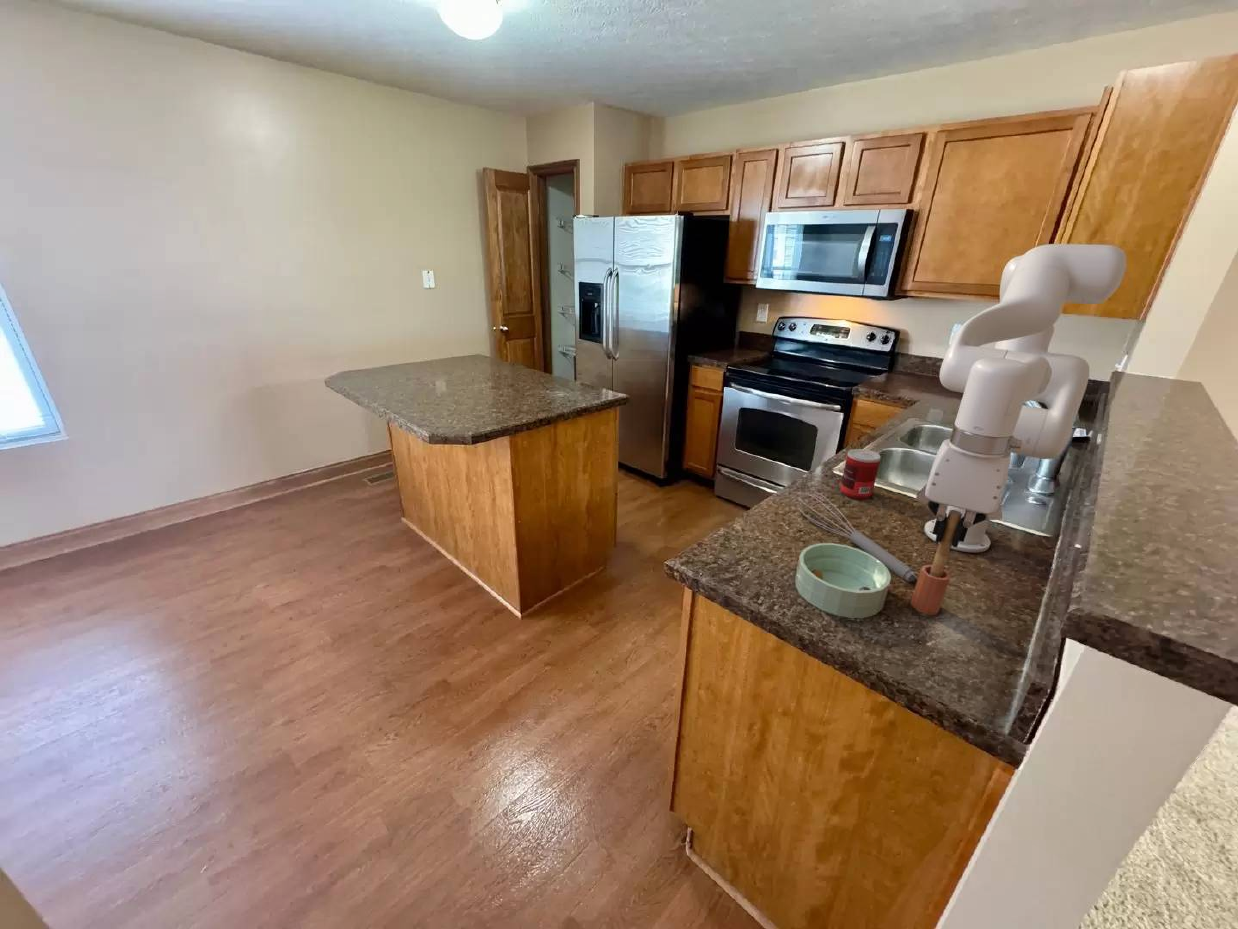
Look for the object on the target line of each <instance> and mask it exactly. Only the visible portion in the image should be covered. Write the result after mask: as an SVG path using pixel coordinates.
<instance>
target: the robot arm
mask: <svg viewBox="0 0 1238 929" xmlns="http://www.w3.org/2000/svg"><path fill="white" fill-rule="evenodd" d="M1126 268H1127V256H1126V253H1125V251H1124V250H1123V249H1122V248H1120V247H1119V246H1116V245H1113V244H1112V245H1111V244H1083V243H1082V244H1081V243H1049V244H1042V245H1037V246H1035V247H1032V248H1031V249H1029V250H1028V251H1026V252H1025V253H1024V254H1022V255H1021V254H1020V255H1017V256H1015V257H1013V258H1011V259H1010V260H1009V261H1008V262H1007V263H1006V265H1005V266H1004V269H1003V271H1002V274H1001V278H1000V285H999V303H997V304H995V305H993V306H990V307H989V308H986V309H984V310H983V311H981V312H979V313H977V314H976V315H974V316H972V317H971V318H970V319H967V321H966V322H964V323H963V324H962V325H961V326H960V327H959V328H958V329H957V331H956V332H955V334H954V336H953V338H952V341H951V342H950V344H949V346H948V349H947V351H946V353H945V356H944V358H943V359H942V362H941V365H940V370H939V381H940V383H941V385H942V386H943V387H944V388H945V389H947V390H949V391H951V392H957V393H963V394H962V397H961V400H960V404H959V407H958V410H957V414H956V417H955V421H954V424H953V428H952V431H951V435H950V438H948V439H944V440H943V441H942V443H941V445H940V447H939V449H938V450H937V453H936V455H935V458H934V460H933V463H932V466H931V468H930V471H929V474H928V477H927V480H926V483H925V484H924V485H923V487H922V488H921V489H920V490H919V491H918V492H917V494H916V496H915V499H916V501H918V502H919V503H921V504H922V505H924V506H926V507H928V508H929V510H930V511H931V513H932V514H933V515H934V516H935V519H932V520H929V521H927V522H926V523H925V525H924V527H923V530H924V533H925V534H926V536H927V537H929V539H930V540H932V541H933V542H935V543H937V544H939V542H941V539H942V536H943V533H944V530H945V527H946V523H947V517H948V514H949V511H950V510H956V511H959V512H961V513H962V516H961V519H960V522H959V524H958V527H957V530H956V533H955V536H954V539H953V542H952V546H951V549H950V550H954V551H958V552H963V553H974V554H975V553H983V552H985V551H987V550H988V549H989V548H990V546H991V539H990V538H989V536H988V535H987V534H986V532H987V528H988V525H989V523H990V521H1000V520H1002V519H1003V511H1002V505H1001V504H1002V503H1001V502H1002V498H1003V495H1004V493H1005V489H1006V485H1007V481H1008V477H1009V469H1010V465H1011V460H1012V454H1016V455H1021V456H1026V457H1028V458H1029V457H1030V458H1036V459H1041V460H1051V459H1055V458H1057V457H1058V456H1060V455H1061V454H1062V452H1063V451H1064V449H1065V448H1066V446H1067V443H1068V441H1069V438H1070V436H1071V433H1072V430H1073V426H1074V424H1075V421H1076V418H1077V416H1078V412H1079V409H1080V407H1081V404H1082V401H1083V398H1084V395H1085V392H1086V390H1087V386H1088V383H1089V378H1090V372H1091V371H1090V364H1089V363H1088V361H1087V360H1086V359H1084V358H1082V357H1080V356H1077V355H1072V354H1063V353H1055V352H1049V351H1048V350H1049V347H1050V344H1051V341H1052V338H1053V336H1054V333H1055V327H1054V326H1055V324H1056V323H1057V321H1058V320H1059V318H1060V316H1061V313H1062V310H1063V308H1064V305H1065V303H1066V304H1067V303H1070V304H1081V305H1083V304H1084V305H1097V304H1098V305H1099V304H1102V303H1104V302H1106V301H1107V300H1108V299H1110V298H1111V296H1112V295H1114V293H1115V292H1116V291H1117V289H1118V288H1119V286H1120V285H1121V283H1122V281H1123V278H1124V276H1125V272H1126ZM992 343H995V345H994V348H993V347H985V345H988V344H992ZM1030 401H1032V402H1037V403H1042V404H1044V405H1045V406H1046V408H1044V407H1043V408H1042V407H1036V406H1032V405H1026V404H1024V403H1027V402H1030Z"/></svg>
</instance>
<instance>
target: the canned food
mask: <svg viewBox="0 0 1238 929" xmlns="http://www.w3.org/2000/svg"><path fill="white" fill-rule="evenodd" d="M881 458H882V456H881V455H880V454H879V453H878V452H875V451H873V450H870V449H865V448H853V449H849V450H848V452H847V455H846V458H845V463H844V469H843V473H842V478H841V483H840V492H841V493H842V494H843V495H844V496H846V497H849V498H850V499H851V498H852V499H857V500H865V499H866V500H867V499H869V498H870V497H871V496H872V494H873V491H874V488H875V483H876V479H877V475H878V471H879V467H880V463H881V460H882V459H881Z"/></svg>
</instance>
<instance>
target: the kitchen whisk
mask: <svg viewBox="0 0 1238 929" xmlns="http://www.w3.org/2000/svg"><path fill="white" fill-rule="evenodd" d="M815 494H817V495H815ZM815 494H810V491H808V492H804V493H803V495H802V496H800V497H798V500H797V504H796V505H797V508H798V510H799V511H800V512H801V513H802V514H803V516H805V517H806V518H807V519H808V520H809V521H811V523H813V524H815V525H816V526H819V527H820V528H822V529H825V530H827V531H829V532H832V533H834V534H836V535H839V536H843V537H845V538H848V539H849V541H850V542H851V543H853V544H854V545H856V546H857V547H858V548H859V549H860V550H862V551H864V552H866V553H868V554H870V555H872V556H874V557H875V558H876V559H878V560H879V561H881V562H882V563H883V564H884V565H885V566H886V568H887V569H888V570H889V571H891V572H892V573H893V574H894V575H896V577H899V579H901V580H903V581H905V582H907V583H910V582H913V581H916V579H917V580H918V574H917V573H916V572H915V571H914V569H913V568H912V567H910V566H908V565H907V564H905V563H904V562H903V561H901V560H900V559H898V558H897V557H896V556H894V555H893V554H892V553H890V552H889V551H887V550H886V549H884V548H883V547H881V546H880V545H879V544H878V543H877V542H875V541H873V540H872V539H870V538H869V537H867V535H865V534H864V533H862V532H860V531H859V530H856V529H855V528H854V527H853V526H852V524H851V523H850V522H849V520H848V519H847V518H846V516H845V515H844V514H843V513H842V512H841V511H840V510H839V509H838V507H835V504H833V503H832V502H831V500H829V499H828V498H827V497H825V496H824V495H823V494H821V493H820V492H819V493H818V492H817V491H815ZM819 495H820V496H819ZM821 496H822V497H821ZM806 497H813V498H814V499H815V500H817V501H818V502H819V503H821V505H822V506H824V507H821V505H818V504H817V503H816V502H814V501H812V500H810V499H808V498H806ZM817 497H818V498H820V499H822V500H824V501H826V502H827V503H828V504H830V505H831V506H832V507H833V508H835V510H837V512H839V514H840V515H841V516H842V517H843V518H844V519H845V520H846V522H847V523H848V524H849V525H847V524H846V523H845V522H844V521H843V520H842V519H841V518H840V517H838V519H837V514H835V513H834V511H832V510H831V509H830V508H829V507H827V505H825V504H824V503H823V502H822V501H821V500H820V499H818V498H817ZM805 500H806V501H809V502H811V503H813V504H814V505H816V506H818V507H819V508H820V509H822V510H823V511H825V512H826V513H827V514H829V515H830V516H832V517H833V518H834V519H835V520H837V521H838V522H839V523H841V525H842V526H844V527H845V528H846V529H847V530H848V531H850V532H851V533H850V532H848V531H847V530H845V529H844V528H842V527H841V526H840V525H838V524H836V523H835V522H833V521H832V520H830V519H828V518H827V517H825V516H824V515H822V514H821V513H819V512H818V511H816V510H815V509H814V508H812V507H811V506H810V505H808V504H807V503H805ZM799 502H800V503H799ZM802 503H803V504H804V506H805V507H806V508H807V511H809V512H810V513H811V514H812V515H813V516H815V517H816V518H817V519H818V520H820V521H821V522H823V523H824V524H822V523H821V522H819V521H817V520H815V519H813V518H812V517H809V516H808V515H807V514H806V513H805V512H804V511H803V510H802ZM799 506H800V507H799ZM825 507H826V508H827V509H828V511H830V512H831V513H832V514H833V515H832V514H831V513H830V512H828V511H827V509H824V508H825ZM810 509H811V510H813V512H812V511H811V510H810ZM814 512H815V513H816V514H818V515H820V516H821V517H823V518H824V519H826V520H828V521H829V522H830V523H831V524H833V525H835V526H837V527H838V528H840V529H841V530H843V531H845V532H846V533H845V532H843V531H841V530H839V529H837V530H835V529H833V526H832V525H830V524H828V523H826V522H825V521H824V520H822V519H821V518H820V517H818V516H817V515H815V514H814ZM825 524H826V525H825ZM849 526H850V527H851V528H850V527H849Z"/></svg>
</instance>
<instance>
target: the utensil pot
mask: <svg viewBox="0 0 1238 929" xmlns="http://www.w3.org/2000/svg"><path fill="white" fill-rule="evenodd" d="M931 567H932V564H924V565H922V567H921V568H920V571H919V575H918V576H917V578H918V579H917V581H916V584H915V587H914V589H913V592H912V593H913V594H912V596H911V600H910V605H911V606H912V608H913V609H915V610H916V611H917V612H920V613H922V614H925V615H930V616H934V615H935V616H936V615H937V614H939V612H940V611H941V610H940V609H941V607H942V605H943V601H944V598H945V595H946V593H947V591H948V587H949V583H950V581H951V578H952V576H951V573H950V572H948V571H947V569H945V568H944V570H943V573H942V576H941V578H937V577H934V576H932V575H930V574H929V573H930V570H931Z"/></svg>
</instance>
